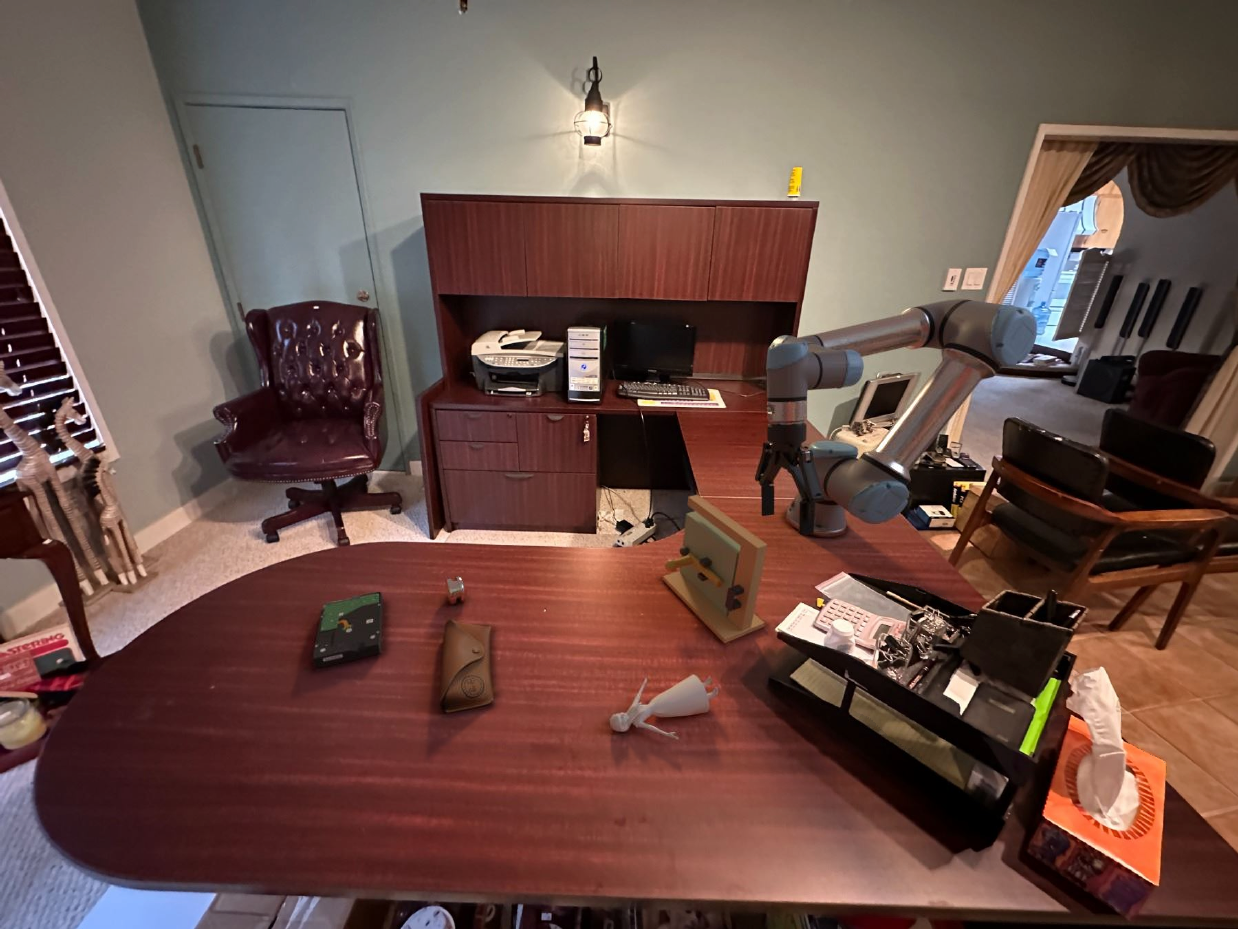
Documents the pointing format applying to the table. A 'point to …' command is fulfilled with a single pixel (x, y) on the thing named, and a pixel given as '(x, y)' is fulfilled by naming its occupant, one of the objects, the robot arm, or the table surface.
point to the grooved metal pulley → (455, 589)
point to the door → (720, 571)
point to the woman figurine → (667, 705)
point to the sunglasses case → (465, 667)
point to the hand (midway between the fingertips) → (786, 523)
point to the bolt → (690, 558)
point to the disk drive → (349, 630)
